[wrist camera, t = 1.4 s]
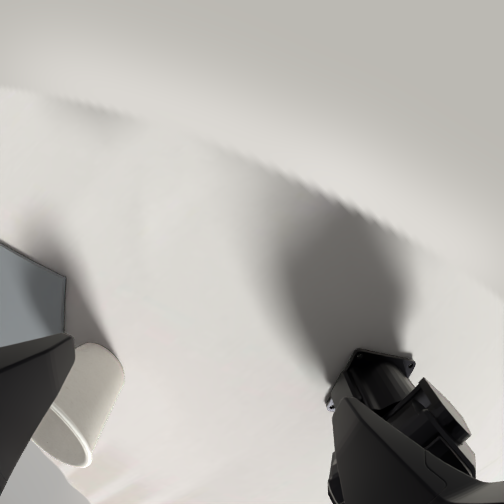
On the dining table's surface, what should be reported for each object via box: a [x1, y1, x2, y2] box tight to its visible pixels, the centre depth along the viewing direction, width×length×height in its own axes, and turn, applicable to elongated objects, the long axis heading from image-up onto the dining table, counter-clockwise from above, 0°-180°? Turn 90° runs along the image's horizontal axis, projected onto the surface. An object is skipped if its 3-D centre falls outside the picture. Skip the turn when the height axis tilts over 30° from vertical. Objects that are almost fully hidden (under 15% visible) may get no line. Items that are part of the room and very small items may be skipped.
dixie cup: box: [31, 343, 125, 468], centre depth 18 cm, size 8×8×10 cm
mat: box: [0, 243, 66, 347], centre depth 22 cm, size 13×16×1 cm
